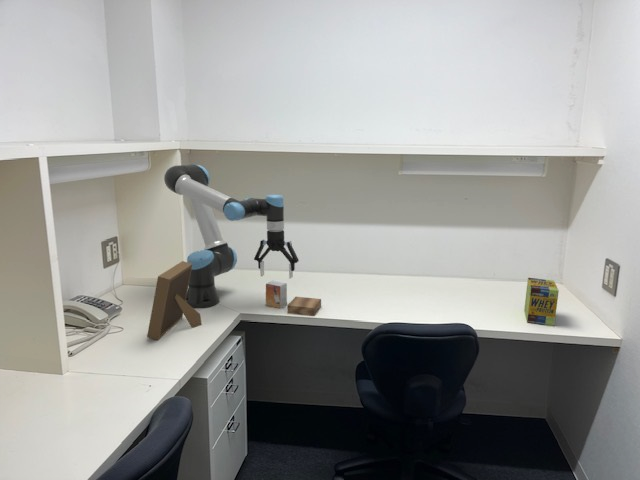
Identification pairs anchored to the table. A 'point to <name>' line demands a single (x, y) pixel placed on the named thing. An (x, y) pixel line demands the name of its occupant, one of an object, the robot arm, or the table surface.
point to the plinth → (304, 306)
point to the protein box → (541, 301)
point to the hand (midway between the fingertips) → (276, 276)
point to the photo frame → (172, 301)
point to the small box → (276, 294)
